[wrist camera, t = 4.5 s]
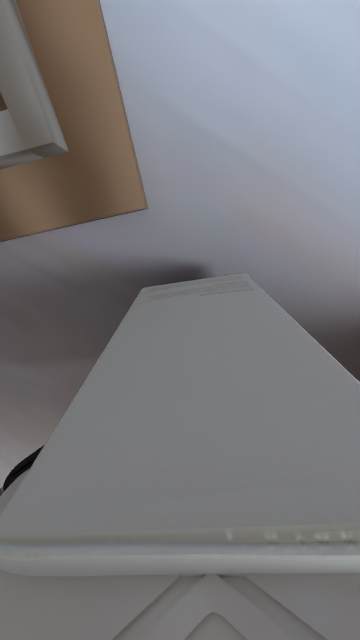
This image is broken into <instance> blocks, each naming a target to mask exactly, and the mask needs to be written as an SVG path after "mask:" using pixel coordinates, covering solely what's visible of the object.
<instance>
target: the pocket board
mask: <svg viewBox="0 0 360 640" xmlns="http://www.w3.org/2000/svg"><path fill="white" fill-rule="evenodd" d="M144 209H148V206H147V202H146V198H145V194H144V189H143V185H142V181H141V176H140V172H139V168H138V164H137V159H136V155H135V151H134V146H133V142H132V138H131V134H130V129H129V125H128V121H127V116H126V112H125V108H124V104H123V99H122V95H121V91H120V87H119V82H118V78H117V74H116V69H115V65H114V61H113V57H112V52H111V48H110V44H109V39H108V35H107V31H106V27H105V22H104V18H103V14H102V9H101V5H100V1H99V0H0V242H2V241H6V240H11V239H15V238H20V237H24V236H29V235H33V234H38V233H42V232H46V231H51V230H55V229H60V228H64V227H69V226H73V225H77V224H82V223H86V222H91V221H95V220H100V219H104V218H109V217H113V216H117V215H122V214H126V213H131V212H135V211H140V210H144Z"/></svg>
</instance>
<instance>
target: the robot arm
mask: <svg viewBox="0 0 360 640" xmlns="http://www.w3.org/2000/svg"><path fill="white" fill-rule="evenodd" d="M359 382H360V381H359ZM43 447H44V446H42V447H41V448H39V449H38V450H37V451H35V452H34V453H32V454H31V455H30V456H28V457H27V458H25V459H24V460H23V461H21V462H20V463H19V464H18V465H16V466H15V467H14V469H13V470H12V471H11V472H10V473H9V475H8V476H7V478H6V480H5V482H4V485H3V487H2V488H0V515H1V514H2V512H3V511H4V509H5V508H6V506H7V504H8V503H9V501H10V500H11V498H12V497H13V495H14V493H15V492H16V490H17V489H18V487H19V486H20V484H21V483H22V481H23V480H24V478H25V476H26V475H27V473H28V471H29V470H30V468H31V466H32V465H33V463H34V461H35V460H36V458H37V456H38V455H39V453H40V452H41V450H42V449H43ZM0 640H360V574H243V576H241V577H219V576H218V575H217V574H206V575H205V576H204V577H182V575H181V574H178V575H106V576H25V575H19V574H12V573H6V572H4V571H2V570H0Z"/></svg>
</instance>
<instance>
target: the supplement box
mask: <svg viewBox="0 0 360 640" xmlns="http://www.w3.org/2000/svg"><path fill="white" fill-rule="evenodd" d="M0 570H2V571H4V572H6V573H12V574H19V575H25V576H106V575H178V574H181V575H182V577H204V576H205V575H206V574H217V575H218V576H219V577H241V576H243V574H360V382H359V381H358V380H357V379H356V378H355V377H354V376H353V375H352V374H350V373H349V372H348V371H347V370H346V369H345V368H344V367H343V366H342V365H341V364H340V363H339V362H338V361H337V360H336V359H335V358H334V357H333V356H332V355H331V354H330V353H329V352H327V351H326V350H325V349H324V348H323V347H322V346H321V345H320V344H319V343H318V342H317V341H316V340H315V339H314V338H313V337H312V336H311V335H310V334H309V333H308V332H306V331H305V330H304V329H303V328H302V327H301V326H300V325H299V324H298V323H297V322H296V321H295V320H294V319H293V318H292V317H291V316H290V315H289V314H288V313H287V312H286V311H285V310H284V309H283V308H282V307H280V306H279V305H278V304H277V303H276V302H275V301H274V300H273V299H272V298H271V297H270V296H269V295H268V294H267V293H266V292H265V291H264V290H263V289H262V288H261V287H259V286H258V285H257V284H256V283H255V282H254V281H253V280H252V279H251V278H250V277H249V276H248V275H247V274H246V273H240V274H233V275H225V276H219V277H213V278H204V279H199V280H191V281H185V282H178V283H171V284H165V285H157V286H151V287H145V288H142V289H141V291H140V293H139V294H138V296H137V297H136V299H135V300H134V302H133V304H132V305H131V307H130V309H129V310H128V312H127V313H126V315H125V317H124V318H123V320H122V322H121V323H120V325H119V326H118V328H117V330H116V331H115V333H114V334H113V336H112V338H111V339H110V341H109V343H108V344H107V346H106V347H105V349H104V351H103V352H102V354H101V355H100V357H99V358H98V360H97V362H96V363H95V365H94V366H93V368H92V370H91V371H90V373H89V375H88V376H87V378H86V380H85V381H84V383H83V384H82V386H81V387H80V389H79V391H78V392H77V394H76V395H75V397H74V399H73V400H72V402H71V404H70V405H69V407H68V409H67V410H66V412H65V413H64V415H63V416H62V418H61V419H60V421H59V423H58V424H57V426H56V428H55V429H54V431H53V433H52V434H51V436H50V438H49V439H48V441H47V442H46V444H45V445H44V447H43V449H42V450H41V452H40V453H39V455H38V456H37V458H36V460H35V461H34V463H33V465H32V466H31V468H30V470H29V471H28V473H27V475H26V476H25V478H24V480H23V481H22V483H21V484H20V486H19V487H18V489H17V490H16V492H15V493H14V495H13V497H12V498H11V500H10V501H9V503H8V504H7V506H6V508H5V509H4V511H3V512H2V514H1V515H0Z"/></svg>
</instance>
